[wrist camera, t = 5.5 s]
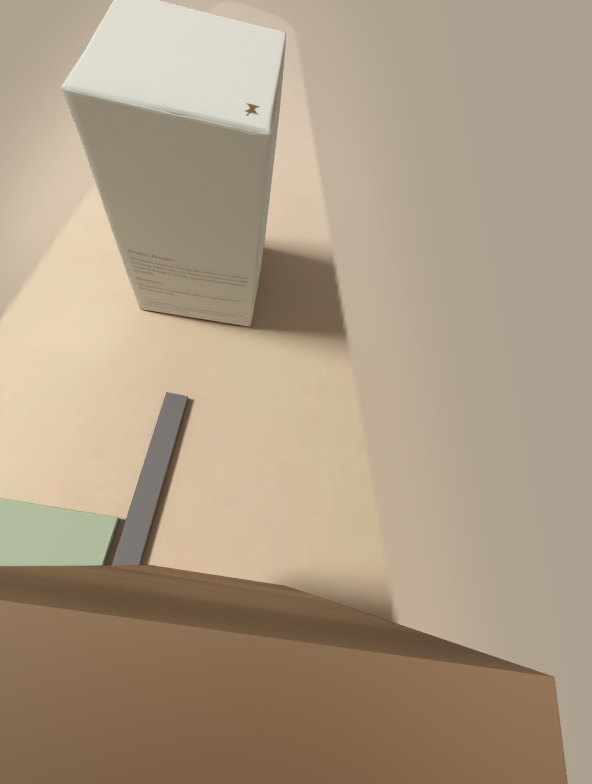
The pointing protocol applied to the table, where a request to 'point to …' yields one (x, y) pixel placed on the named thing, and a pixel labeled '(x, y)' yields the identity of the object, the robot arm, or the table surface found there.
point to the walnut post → (249, 688)
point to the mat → (52, 536)
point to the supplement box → (182, 150)
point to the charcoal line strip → (150, 482)
